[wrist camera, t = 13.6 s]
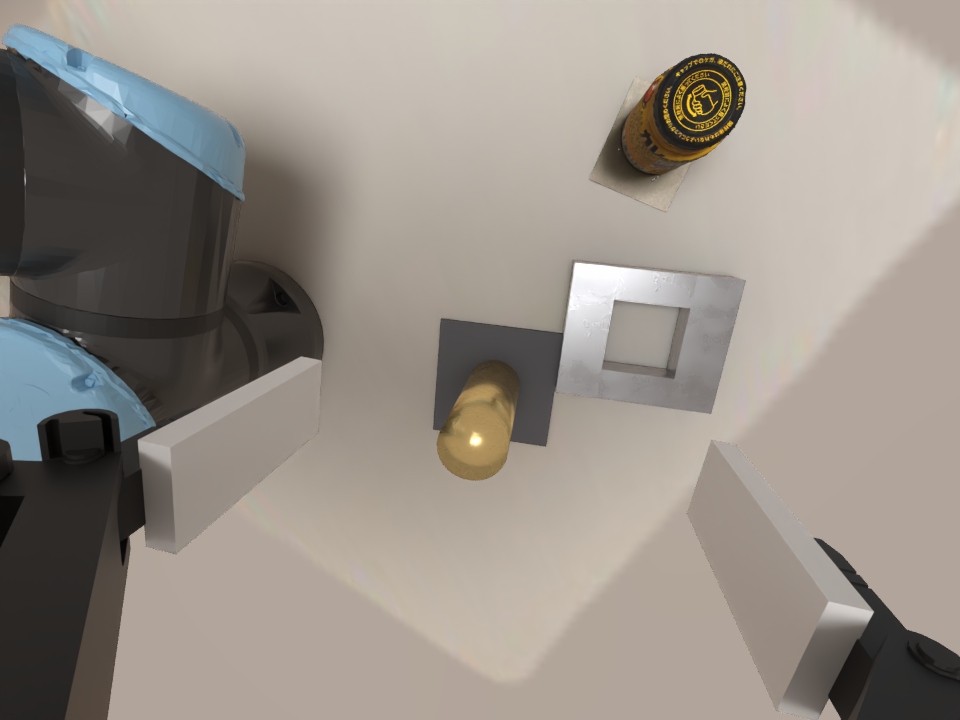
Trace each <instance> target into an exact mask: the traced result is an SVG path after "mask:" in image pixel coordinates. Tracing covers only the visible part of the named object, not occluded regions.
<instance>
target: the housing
mask: <svg viewBox="0 0 960 720" xmlns="http://www.w3.org/2000/svg"><path fill="white" fill-rule="evenodd" d="M745 282H746V281H745V280H742V279H738V278H735V277H730V276H720V275H711V274H701V273H692V272H682V271H673V270H663V269H654V268H644V267H635V266H625V265H616V264H606V263H597V262H587V261H578V260H573V267H572V274H571V281H570V287H569V294H568V301H567V307H566V314H565V321H564V327H563V336H562V342H561V349H560V356H559V362H558V369H557V376H556V383H555V388H556V392H557V393H565V394H572V395H579V396H586V397H594V398H601V399H608V400H615V401H622V402H630V403H637V404H644V405H651V406H659V407H666V408H673V409H680V410H687V411H695V412H702V413H709V414H711V412H712V409H713V405H714V401H715V397H716V393H717V389H718V385H719V382H720V378H721V374H722V370H723V366H724V362H725V359H726V355H727V351H728V347H729V343H730V339H731V336H732V332H733V328H734V324H735V320H736V316H737V313H738V309H739V305H740V301H741V297H742V293H743V289H744V286H745ZM614 300H620V301H629V302H637V303H646V304H655V305H664V306H672V307H680V310H679V315H678V319H677V324H676V328H675V333H674V337H673V342H672V346H671V351H670V355H669V360H668V364H667V369H663V368H655V367H647V366H639V365H632V364H624V363H616V362H608V361H603V360H604V354H605V349H606V343H607V337H608V332H609V326H610V321H611V315H612V310H613V304H614Z"/></svg>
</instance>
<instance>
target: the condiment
mask: <svg viewBox="0 0 960 720" xmlns="http://www.w3.org/2000/svg"><path fill="white" fill-rule="evenodd" d="M745 93H746V83H745V80H744V77H743V75H742V74H741V72H740V70H739V69H738V68H737V66H736V65H735V64H734V63H732V62H731V61H730V60H729V59H727V58H724V57H723V56H720V55H717V54H712V53H711V54H699V55H695V56H691V57H689V58H686V59H684V60H683V61H681V62H680V63H678V64H677V65H675V66H673V67H671V68H670V69H668V70H667V71H665V72H664V73H663V74H661V75H660V76H659V77H657V78H656V79H655V81H654V82H653V83H650V82H648V81H646V80H643V79H641V78H638V77H635V79H634V81H633V83H632V85H631V88H630V90H629V92H628V94H627V96H626V99H625V101H624V103H623V105H622V107H621V110H620V112H619V114H618V116H617V118H616V121H615V123H614V125H613V127H612V130H611V132H610V134H609V136H608V138H607V141H606V143H605V145H604V147H603V149H602V152H601V154H600V156H599V158H598V161H597V163H596V165H595V167H594V169H593V172H592V174H591V176H590V178H589V179H590V180H592V181H595V182H597V183H599V184H601V185H604V186H606V187H608V188H611V189H613V190H615V191H617V192H620V193H622V194H624V195H627V196H629V197H631V198H634V199H636V200H639V201H641V202H643V203H646V204H648V205H650V206H653V207H655V208H657V209H660V210H662V211H664V212H666V211H667V209H668V207H669V205H670V203H671V201H672V199H673V197H674V195H675V193H676V192H677V190H678V188H679V185H680V183H681V182H682V180H683V178H684V176H685V174H686V172H687V170H688V168H689V166H690V164H691V162H692V161H694V160H697V159H699V158H701V157H704V156H705V155H707V154H708V153H709V152H710V151H711V150H713V149H714V148H715V147H716V146H717V145H718V144H720V142H721V141H722V140H723V139H724V138H725V137H726V136H727V135H729V133H730V132H731V130H733V128H735V125H736V124H737V122H738V120H739V118H740V117H741V114H742V112H743V109H744V106H745ZM618 149H620V150H618ZM657 176H660V177H659V178H657ZM654 178H656V180H654V181H652V179H654Z"/></svg>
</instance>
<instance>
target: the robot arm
mask: <svg viewBox="0 0 960 720" xmlns="http://www.w3.org/2000/svg"><path fill="white" fill-rule="evenodd" d="M2 44H4V45H6V48H7V50H5V49H0V276H9V277H10V314H9V317H0V720H107V717H108V710H109V702H110V695H111V687H112V681H113V673H114V666H115V658H116V651H117V644H118V636H119V629H120V622H121V614H122V607H123V600H124V591H125V585H126V578H127V569H128V563H129V556H130V538H129V536H130V535H131V534H132V533H134V532H135V531H137V530H138V529H139V528H141V527H142V526H143V525H144V527H145V541H146V547H149V548H153V549H157V550H161V551H165V552H168V553H172V554H177V553H178V552H179V551H181V550H182V549H183V548H184V547H185V546H187V545H188V544H189V543H190V542H191V541H192V540H193V539H195V538H196V537H197V536H198V535H199V534H200V533H202V532H203V531H204V530H205V529H206V528H207V527H208V526H210V525H211V524H212V523H213V522H214V521H216V520H217V519H218V518H219V517H220V516H221V515H222V514H224V513H225V512H226V511H227V510H228V509H229V508H231V507H232V506H233V505H234V504H235V503H236V502H238V501H239V500H240V499H241V498H242V497H243V496H245V495H246V494H247V493H248V492H249V491H250V490H252V489H253V488H254V487H255V486H256V485H257V484H258V483H260V482H261V481H262V480H263V479H264V478H265V477H267V476H268V475H269V474H270V473H271V472H272V471H274V470H275V469H276V468H277V467H278V466H279V465H280V464H282V463H283V462H284V461H285V460H286V459H287V458H289V457H290V456H291V455H292V454H293V453H294V452H296V451H297V450H298V449H299V448H300V447H301V446H303V445H304V444H305V443H306V442H307V441H308V440H309V439H311V438H312V437H313V436H314V435H315V434H316V433H318V429H319V410H320V391H321V372H322V361H321V357H322V351H323V334H322V327H321V323H320V320H319V317H318V314H317V312H316V309H315V307H314V305H313V304H312V302H311V300H310V299H309V297H308V296H307V294H306V293H305V292H304V290H303V289H302V288H301V287H300V286H299V285H298V284H297V283H296V282H295V281H294V280H293V279H292V278H290V277H289V276H288V275H286V274H285V273H283V272H282V271H280V270H278V269H276V268H274V267H272V266H269V265H267V264H263V263H259V262H254V261H237V262H232V259H233V253H234V247H235V240H236V234H237V228H238V221H239V215H240V209H241V202H244V200H245V196H244V193H243V192H242V187H243V177H244V166H245V156H246V149H245V144H244V141H243V138H242V136H241V135H240V133H239V132H238V130H237V129H236V128H235V127H234V126H233V125H232V124H231V123H230V122H229V121H228V120H226V119H225V118H223V117H221V116H220V115H218V114H216V113H214V112H212V111H210V110H208V109H207V108H205V107H203V106H201V105H199V104H197V103H195V102H193V101H191V100H189V99H187V98H185V97H183V96H181V95H179V94H177V93H175V92H173V91H171V90H168V89H166V88H164V87H162V86H160V85H158V84H156V83H154V82H152V81H150V80H147V79H145V78H143V77H141V76H139V75H137V74H135V73H132V72H130V71H128V70H126V69H124V68H122V67H120V66H117V65H115V64H113V63H111V62H108V61H106V60H104V59H102V58H99V57H96V56H93V55H91V54H89V53H88V52H85V51H83V50H81V49H78V48H76V47H74V46H71V45H69V44H67V43H65V42H63V41H62V40H60V39H57V38H55V37H53V36H50V35H48V34H46V33H43V32H41V31H39V30H36V29H34V28H31V27H28V26H25V25H20V24H15V25H12V26H10V28H9V30H8V32H7V33H6V34H5V35H3V36H2ZM687 515H688V517H689V519H690V522H691V523H692V526H693V528H694V530H695V533H696V535H697V537H698V539H699V541H700V544H701V546H702V548H703V550H704V552H705V555H706V557H707V559H708V561H709V563H710V566H711V568H712V570H713V572H714V575H715V577H716V579H717V581H718V583H719V586H720V588H721V590H722V592H723V594H724V597H725V599H726V601H727V603H728V605H729V608H730V610H731V612H732V614H733V616H734V619H735V621H736V623H737V625H738V627H739V630H740V632H741V634H742V636H743V639H744V641H745V643H746V645H747V647H748V650H749V651H750V654H751V656H752V658H753V661H754V663H755V665H756V667H757V669H758V672H759V674H760V676H761V678H762V680H763V683H764V685H765V687H766V689H767V691H768V694H769V696H770V698H771V700H772V702H773V705H774V707H775V709H776V711H779V712H783V713H787V714H790V715H794V716H798V717H802V718H806V719H810V720H818V718H819V717H820V715H821V713H822V711H823V709H824V707H825V705H826V703H827V701H828V699H830V700H831V702H832V704H833V705H834V707H835V709H836V711H837V712H838V714H839V716H840V718H841V720H960V657H959V656H958V655H957V654H955V653H954V652H952V651H951V650H949V649H948V648H946V647H944V646H943V645H941V644H940V643H938V642H936V641H934V640H932V639H930V638H928V637H926V636H924V635H922V634H919V633H916V632H912V631H909V630H907V629H906V628H905V627H904V626H903V625H902V624H901V623H900V621H899V620H898V619H897V618H896V617H895V616H894V615H893V613H892V612H891V611H890V610H889V609H888V608H887V607H886V605H885V604H884V603H883V602H882V601H881V600H880V598H879V597H878V596H877V595H876V594H875V593H874V592H873V590H872V589H869V588H868V585H867V583H866V582H865V581H864V580H863V579H862V578H861V577H860V575H857V574H856V571H855V570H854V568H853V567H852V566H851V565H850V564H849V563H848V561H846V560H845V558H844V557H843V556H842V555H841V554H840V553H838V552H837V551H836V550H835V549H833V548H832V547H831V546H829V545H828V544H827V543H825V542H824V541H822V540H821V539H817V538H813V537H812V536H811V535H810V534H809V532H808V531H807V530H806V529H805V527H804V526H803V525H802V524H801V523H800V521H799V520H798V519H797V518H796V517H795V515H794V514H793V513H792V512H791V510H790V509H789V508H788V507H787V506H786V504H785V503H784V502H783V501H782V500H781V498H780V497H779V496H778V495H777V493H776V492H775V491H774V490H773V488H772V487H771V486H770V485H769V484H768V482H767V481H766V480H765V479H764V478H763V476H762V475H761V474H760V473H759V472H758V470H757V469H756V468H755V467H754V466H753V464H752V463H751V462H750V461H749V459H748V458H747V457H746V456H745V455H744V453H743V452H742V451H741V450H740V448H739V447H738V446H737V445H735V444H730V443H725V442H720V441H715V440H711V443H710V446H709V449H708V452H707V455H706V458H705V461H704V464H703V467H702V470H701V473H700V476H699V479H698V482H697V484H696V487H695V490H694V493H693V496H692V499H691V502H690V505H689V508H688V511H687Z"/></svg>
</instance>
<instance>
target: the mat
mask: <svg viewBox="0 0 960 720" xmlns="http://www.w3.org/2000/svg"><path fill="white" fill-rule="evenodd" d="M562 336H563V333H555V332H547V331H538V330H530V329H522V328H514V327H506V326H498V325H490V324H482V323H474V322H466V321H458V320H449V319H441V324H440V338H439V353H438V367H437V382H436V396H435V411H434V425H433V429H434V430H441V429H442V427H443V426H444V424H445V422H446V420H447V418H448V416H449V414H450V412H451V411H452V409H453V407H454V405H455V403H456V401H457V399H458V397H459V395H460V394H461V392H462V390H463V388H464V386H465V384H466V382H467V380H468V378H469V377H470V375H471V373H472V371H473V370H474V369H475V367H476V366H478V365H479V364H481V363H483V362H485V361H489V360H498V361H502V362H504V363H507V364H508V365H510V366H511V367H512V368H513V369H514V370H515V372H516V373H517V375H518V377H519V381H520V390H519V395H518V400H517V406H516V411H515V416H514V422H513V427H512V432H511V438H510V441H513V442H519V443H526V444H533V445H539V446H546V443H547V436H548V429H549V423H550V416H551V409H552V403H553V396H554V389H555V383H556V376H557V369H558V362H559V356H560V349H561V342H562Z"/></svg>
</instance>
